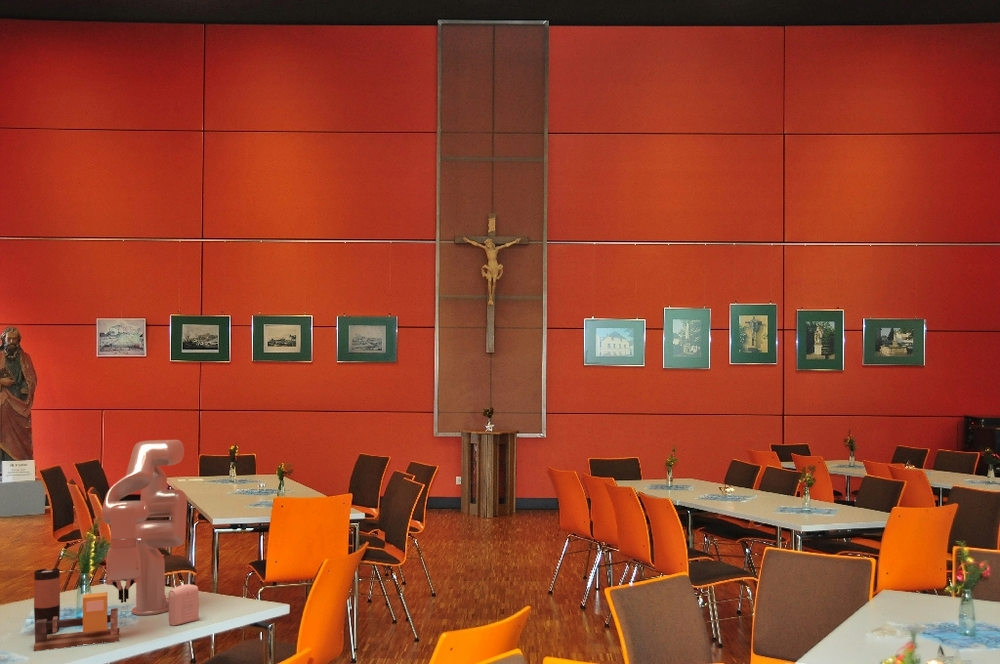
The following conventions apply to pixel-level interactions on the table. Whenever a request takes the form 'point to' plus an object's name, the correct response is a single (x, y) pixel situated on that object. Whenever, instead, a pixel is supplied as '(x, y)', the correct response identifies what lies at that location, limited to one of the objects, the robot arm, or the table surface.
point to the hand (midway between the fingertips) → (123, 601)
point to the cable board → (75, 638)
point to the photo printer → (183, 604)
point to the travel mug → (47, 595)
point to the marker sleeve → (95, 612)
